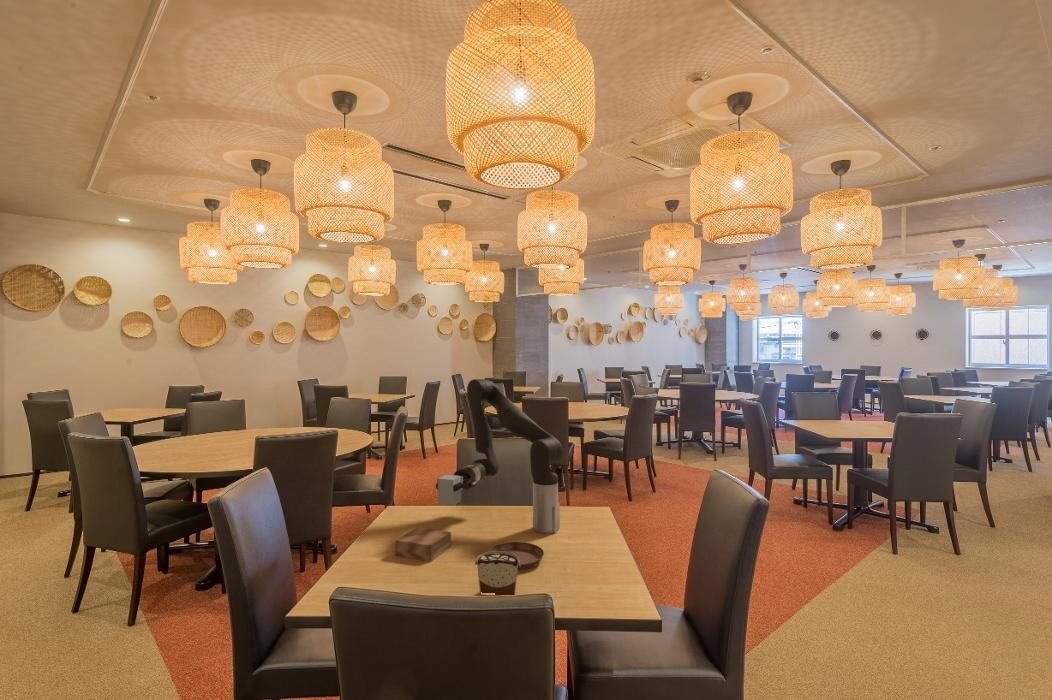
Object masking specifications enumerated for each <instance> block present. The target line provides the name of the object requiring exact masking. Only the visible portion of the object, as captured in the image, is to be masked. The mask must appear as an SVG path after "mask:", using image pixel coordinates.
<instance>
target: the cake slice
mask: <svg viewBox="0 0 1052 700" xmlns="http://www.w3.org/2000/svg"><path fill="white" fill-rule="evenodd" d="M518 563H519V566H520V561H519V559H518V556H517V555H515V554H513V553H510V552H506V551H491V552H488V551H485V552H483V553H482V554H479V555H478V556H477V557H476V560H475V564H474V566H477V577H478V586H479V594H480V593H481V592H482V593H495V595H515V596H516V589H517V578H518V571H519V570H518Z"/></svg>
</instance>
